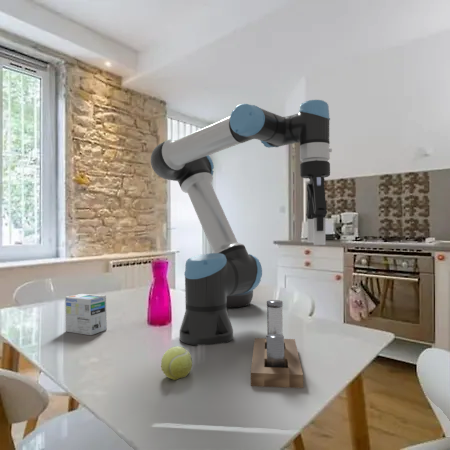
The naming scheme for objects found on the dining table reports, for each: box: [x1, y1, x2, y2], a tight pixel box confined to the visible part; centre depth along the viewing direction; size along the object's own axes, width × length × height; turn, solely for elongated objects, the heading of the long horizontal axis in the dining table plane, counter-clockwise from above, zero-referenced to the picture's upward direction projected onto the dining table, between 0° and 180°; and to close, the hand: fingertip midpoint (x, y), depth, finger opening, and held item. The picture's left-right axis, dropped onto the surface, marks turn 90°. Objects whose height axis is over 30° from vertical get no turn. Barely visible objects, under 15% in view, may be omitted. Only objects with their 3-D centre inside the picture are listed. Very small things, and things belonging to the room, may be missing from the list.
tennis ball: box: [160, 346, 193, 381], centre depth 77 cm, size 6×7×7 cm
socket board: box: [250, 337, 304, 389], centre depth 81 cm, size 10×22×3 cm, turn 173°
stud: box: [266, 299, 284, 336], centre depth 86 cm, size 4×4×13 cm
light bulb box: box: [64, 293, 108, 336], centre depth 112 cm, size 11×7×11 cm, turn 65°
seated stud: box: [265, 334, 285, 368], centre depth 76 cm, size 4×4×8 cm
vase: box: [227, 289, 254, 309], centre depth 146 cm, size 17×17×24 cm
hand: (315, 243), depth 95 cm, fingers open, 13 cm apart
